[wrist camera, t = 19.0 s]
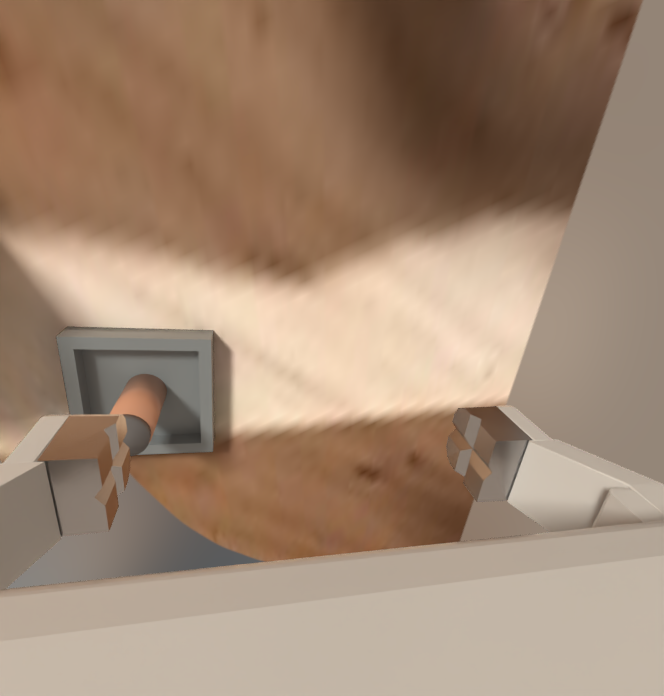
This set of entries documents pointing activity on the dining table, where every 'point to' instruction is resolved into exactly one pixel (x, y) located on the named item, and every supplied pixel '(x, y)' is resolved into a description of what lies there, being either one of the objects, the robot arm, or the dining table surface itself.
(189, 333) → the tray
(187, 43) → the dining table surface
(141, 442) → the terracotta jar
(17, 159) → the dining table surface
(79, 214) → the dining table surface
